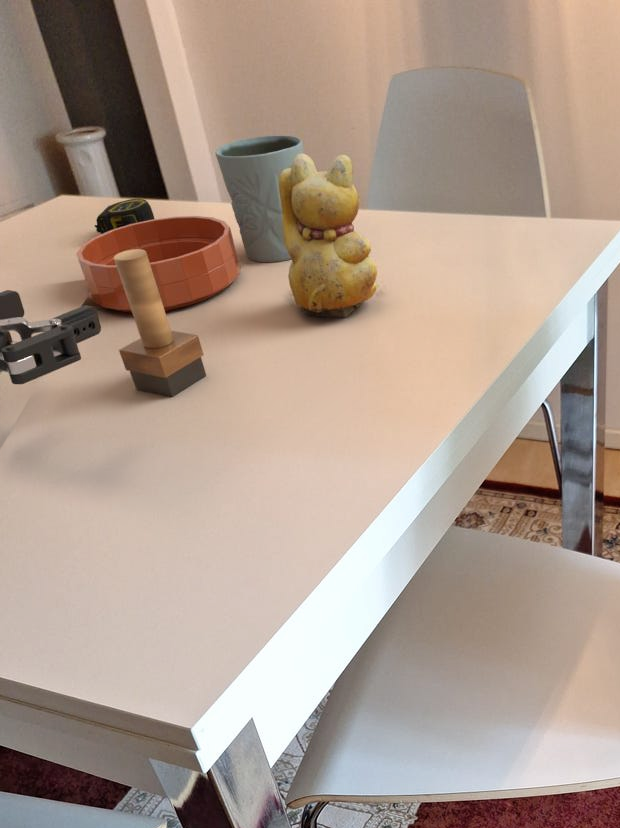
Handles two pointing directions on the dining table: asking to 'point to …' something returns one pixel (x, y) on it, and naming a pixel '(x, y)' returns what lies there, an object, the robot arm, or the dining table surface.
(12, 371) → the robot arm
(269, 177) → the grey-blue cup
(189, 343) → the wooden rod on block
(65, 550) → the dining table surface
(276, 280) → the dining table surface
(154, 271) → the bowl
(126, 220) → the tape measure
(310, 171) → the decorative figurine
